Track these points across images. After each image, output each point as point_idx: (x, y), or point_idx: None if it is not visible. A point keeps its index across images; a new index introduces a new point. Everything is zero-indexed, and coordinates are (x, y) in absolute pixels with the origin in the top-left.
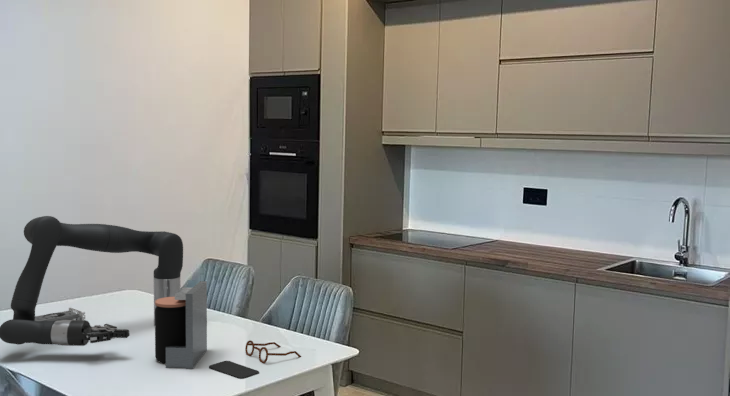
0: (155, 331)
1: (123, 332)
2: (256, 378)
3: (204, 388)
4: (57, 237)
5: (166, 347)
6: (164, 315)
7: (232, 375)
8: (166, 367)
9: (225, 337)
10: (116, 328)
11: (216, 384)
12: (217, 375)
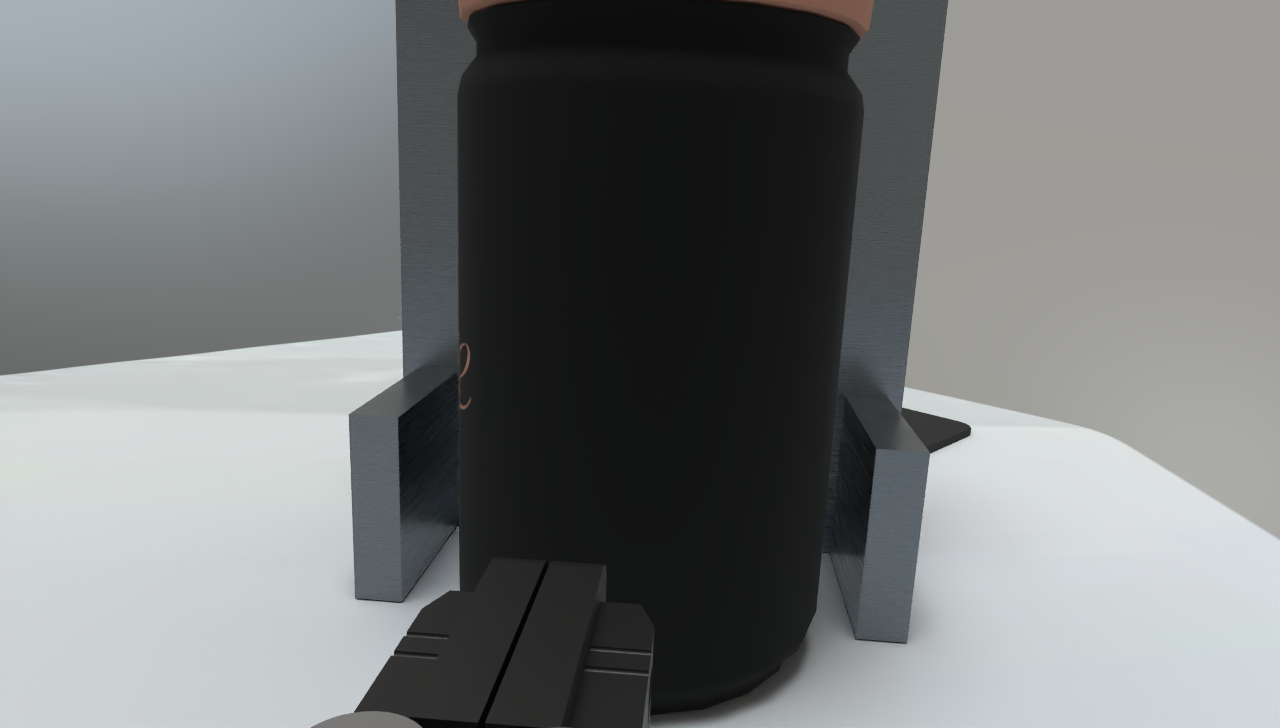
0: (748, 369)
1: (640, 624)
2: (940, 410)
3: (1196, 498)
4: None
5: (923, 450)
6: (861, 130)
7: (949, 439)
8: (903, 637)
9: (137, 454)
10: (329, 725)
11: (1101, 474)
12: (957, 472)
